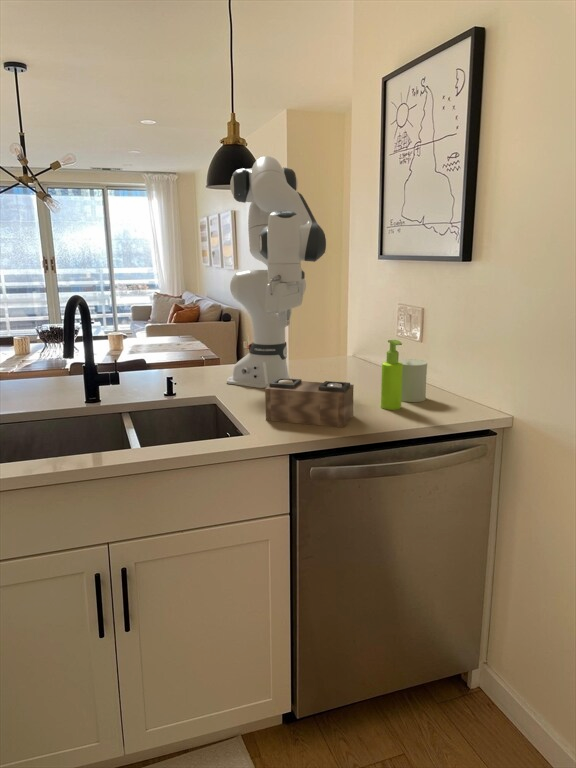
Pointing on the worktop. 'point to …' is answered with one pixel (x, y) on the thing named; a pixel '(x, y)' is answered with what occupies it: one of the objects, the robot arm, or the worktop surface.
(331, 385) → the steel peg
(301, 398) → the walnut block
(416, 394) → the can
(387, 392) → the soap dispenser
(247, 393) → the worktop surface
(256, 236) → the robot arm
